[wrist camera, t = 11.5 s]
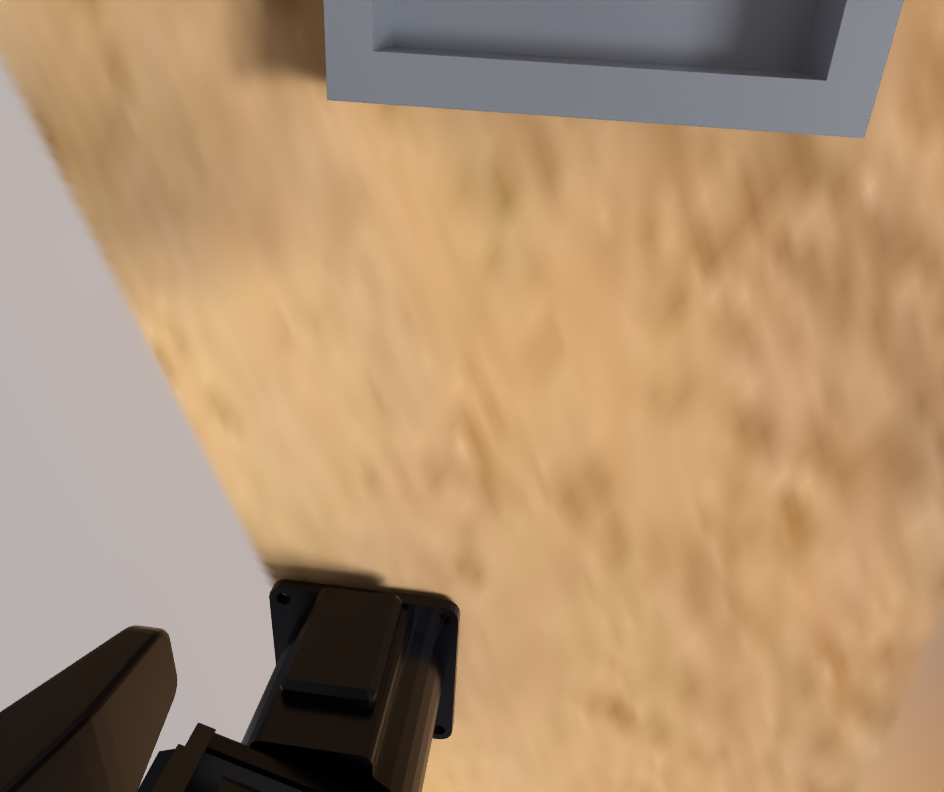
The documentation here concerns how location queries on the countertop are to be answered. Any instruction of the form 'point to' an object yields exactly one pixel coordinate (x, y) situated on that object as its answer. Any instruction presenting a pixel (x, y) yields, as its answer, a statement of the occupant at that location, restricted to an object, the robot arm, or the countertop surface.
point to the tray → (620, 59)
